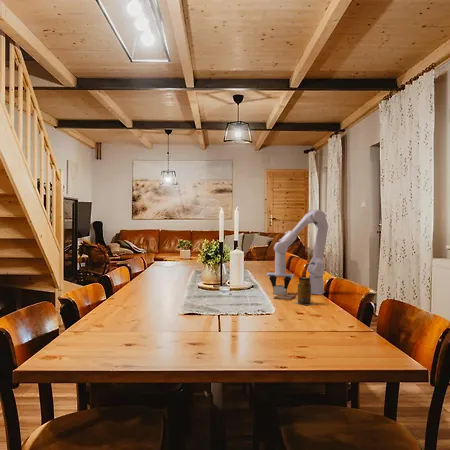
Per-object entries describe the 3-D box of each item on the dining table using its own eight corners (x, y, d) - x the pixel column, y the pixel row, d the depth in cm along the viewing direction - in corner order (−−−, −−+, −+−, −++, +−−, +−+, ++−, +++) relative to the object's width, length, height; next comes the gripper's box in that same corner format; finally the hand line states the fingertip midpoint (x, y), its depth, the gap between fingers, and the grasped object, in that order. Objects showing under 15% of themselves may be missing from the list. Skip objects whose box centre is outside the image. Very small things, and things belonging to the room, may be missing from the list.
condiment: (303, 301, 216) (303, 276, 216) (317, 304, 210) (317, 278, 209) (293, 303, 211) (293, 277, 211) (307, 306, 205) (307, 279, 205)
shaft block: (280, 295, 230) (280, 286, 230) (295, 297, 227) (295, 288, 227) (274, 298, 221) (274, 289, 221) (289, 300, 218) (289, 291, 218)
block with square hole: (276, 292, 239) (276, 285, 239) (286, 293, 237) (286, 285, 237) (273, 294, 235) (273, 286, 234) (283, 294, 232) (283, 287, 232)
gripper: (264, 264, 235) (264, 290, 235) (291, 266, 229) (291, 293, 229) (269, 263, 241) (268, 289, 242) (295, 265, 235) (295, 291, 235)
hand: (280, 291), depth 236 cm, fingers closed on block with square hole, 5 cm apart
